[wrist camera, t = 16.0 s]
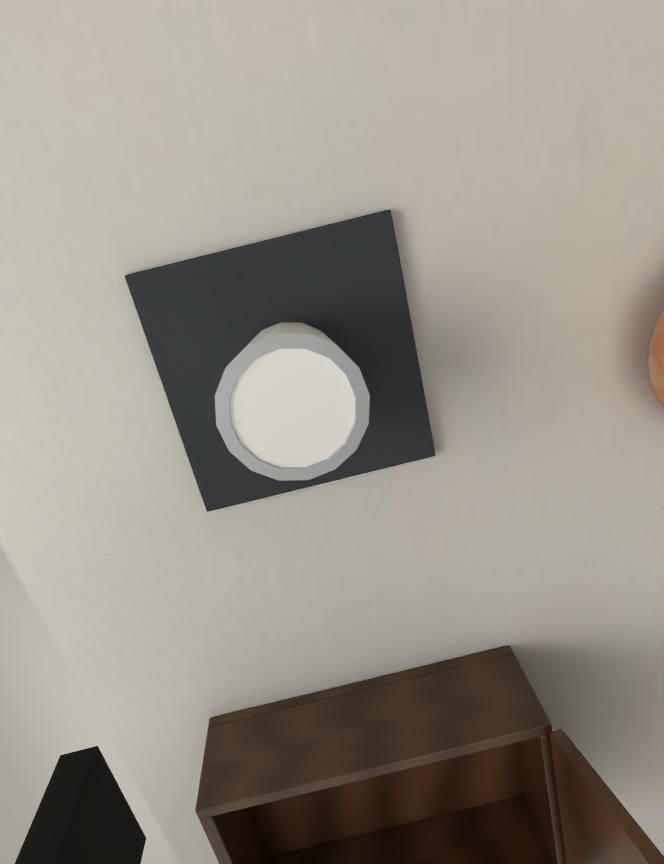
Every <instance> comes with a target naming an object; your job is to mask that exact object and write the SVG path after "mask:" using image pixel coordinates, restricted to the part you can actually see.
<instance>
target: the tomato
mask: <svg viewBox="0 0 664 864" xmlns="http://www.w3.org/2000/svg"><path fill="white" fill-rule="evenodd" d="M648 368H649V375H650V381H651V384H652V388H653V390H654V393H655V395H656V397H657V399H658V401H659V403H660V404H661V406H662V408H663V409H664V309H663V311H662V313H661V315H660V317H659V319H658V321H657V324H656V326H655V329H654V332H653V335H652V338H651V342H650V347H649V357H648Z"/></svg>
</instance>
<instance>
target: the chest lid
mask: <svg viewBox="0 0 664 864" xmlns="http://www.w3.org/2000/svg"><path fill="white" fill-rule="evenodd" d="M550 739H551V747H552V754H553V762H554V770H555V777H556V785H557V793H558V801H559V808H560V816H561V824H562V831H563V839H564V847H565V854H566V862H567V864H664V856H663V855H662V854H661V853H660V851H659V850H658V849H657V847H656V846H655V845H654V844H653V842H652V841H651V840H650V839H649V837H648V836H647V835H646V834H645V833H644V831H643V830H642V829H641V827H640V826H639V825H638V824H637V822H636V821H635V820H634V819H633V817H632V816H631V815H630V814H629V812H628V811H627V810H626V809H625V807H624V806H623V805H622V804H621V802H620V801H619V800H618V799H617V797H616V796H615V795H614V794H613V792H612V791H611V790H610V789H609V787H608V786H607V785H606V784H605V782H604V781H603V780H602V779H601V777H600V776H599V775H598V774H597V772H596V771H595V770H594V769H593V767H592V766H591V765H590V764H589V762H588V761H587V760H586V759H585V757H584V756H583V755H582V754H581V752H580V751H579V750H578V749H577V747H576V746H575V745H574V744H573V742H572V741H571V740H570V739H569V737H568V736H567V735H566V734H565V732H564V731H563V730H562V729H560V730H557V731H555V732H553V733H550Z"/></svg>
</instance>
